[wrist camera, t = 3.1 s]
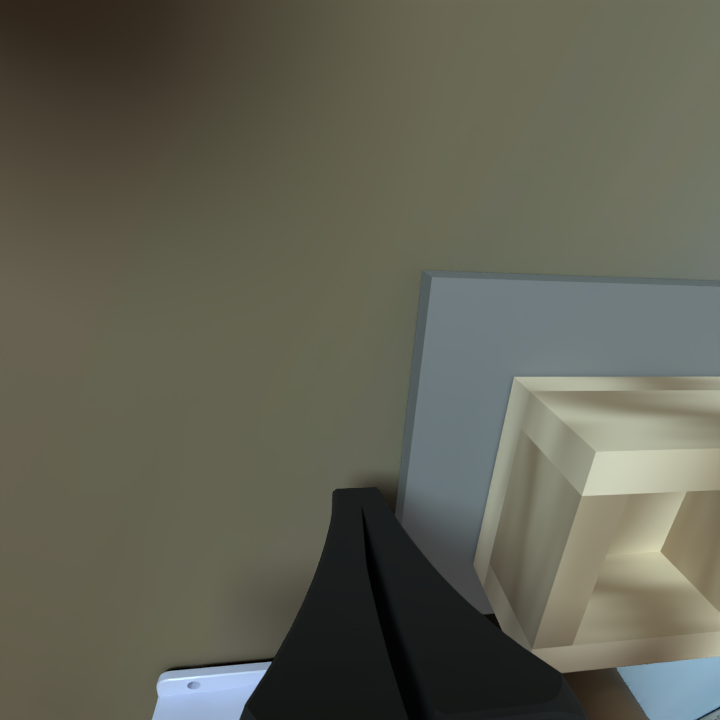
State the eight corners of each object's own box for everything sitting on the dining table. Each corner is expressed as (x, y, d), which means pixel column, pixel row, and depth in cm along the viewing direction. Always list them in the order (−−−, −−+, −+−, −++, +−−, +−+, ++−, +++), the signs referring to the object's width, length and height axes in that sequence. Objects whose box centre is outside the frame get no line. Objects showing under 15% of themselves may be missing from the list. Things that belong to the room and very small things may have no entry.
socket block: (473, 565, 16) (523, 677, 12) (513, 376, 13) (596, 451, 9) (658, 553, 17) (754, 652, 14) (735, 376, 14) (886, 443, 10)
